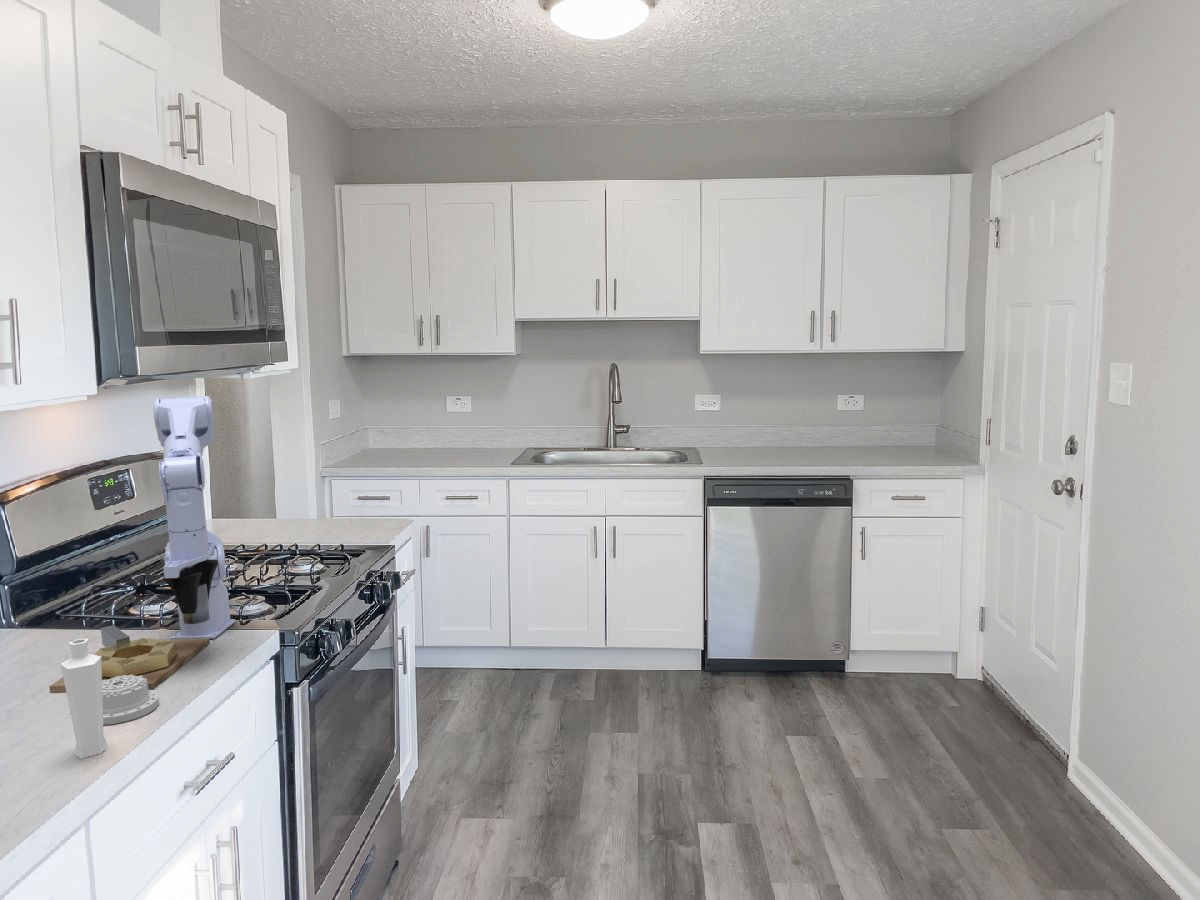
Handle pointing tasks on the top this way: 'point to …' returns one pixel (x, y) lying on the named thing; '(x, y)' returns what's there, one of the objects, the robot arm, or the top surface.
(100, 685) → the perfume bottle
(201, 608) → the steel pin
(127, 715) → the mechanical component
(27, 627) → the top surface
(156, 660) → the handled hexagon ring
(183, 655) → the mount board
